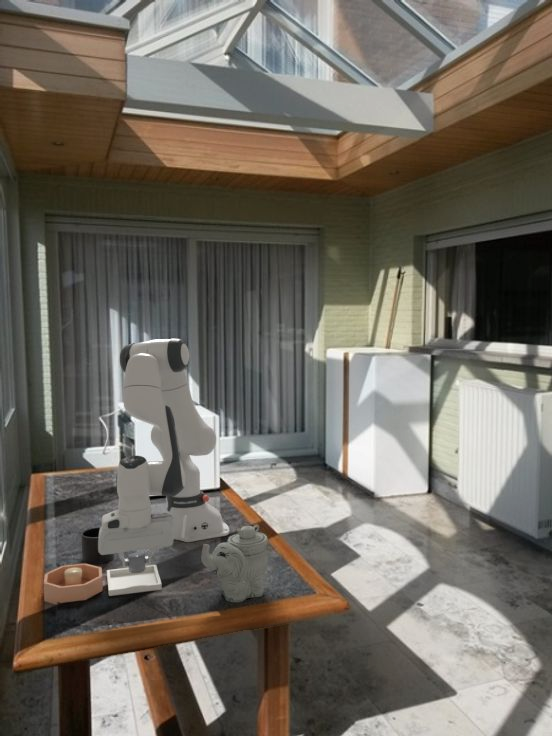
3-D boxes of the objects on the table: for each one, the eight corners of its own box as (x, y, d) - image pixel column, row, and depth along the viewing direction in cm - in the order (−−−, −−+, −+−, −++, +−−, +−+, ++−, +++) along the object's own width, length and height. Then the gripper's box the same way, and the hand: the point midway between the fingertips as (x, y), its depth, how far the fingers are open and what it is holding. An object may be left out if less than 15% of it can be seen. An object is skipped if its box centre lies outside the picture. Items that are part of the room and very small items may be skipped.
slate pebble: (144, 565, 182) (144, 551, 181) (146, 571, 177) (145, 557, 177) (127, 567, 180) (127, 553, 180) (129, 574, 176) (128, 560, 175)
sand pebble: (81, 580, 183) (81, 566, 183) (82, 587, 179) (82, 573, 178) (64, 582, 181) (64, 568, 181) (65, 589, 177) (64, 575, 177)
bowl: (101, 578, 187) (101, 561, 186) (103, 601, 172) (102, 582, 172) (46, 584, 182) (45, 567, 182) (43, 608, 168) (42, 590, 168)
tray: (156, 572, 191) (156, 564, 190) (161, 592, 177) (161, 584, 177) (107, 578, 187) (106, 570, 186) (108, 599, 173) (108, 590, 173)
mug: (85, 572, 191) (84, 542, 190) (80, 557, 202) (79, 529, 201) (117, 567, 195) (116, 538, 194) (111, 553, 206) (110, 525, 205)
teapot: (200, 605, 170) (199, 535, 168) (213, 581, 185) (213, 516, 183) (262, 609, 168) (262, 538, 166) (271, 584, 183) (270, 519, 181)
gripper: (171, 508, 183) (172, 555, 185) (96, 516, 177) (98, 565, 179) (174, 515, 177) (176, 564, 179) (97, 524, 171) (99, 574, 173)
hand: (136, 564), depth 179 cm, fingers closed on slate pebble, 5 cm apart
